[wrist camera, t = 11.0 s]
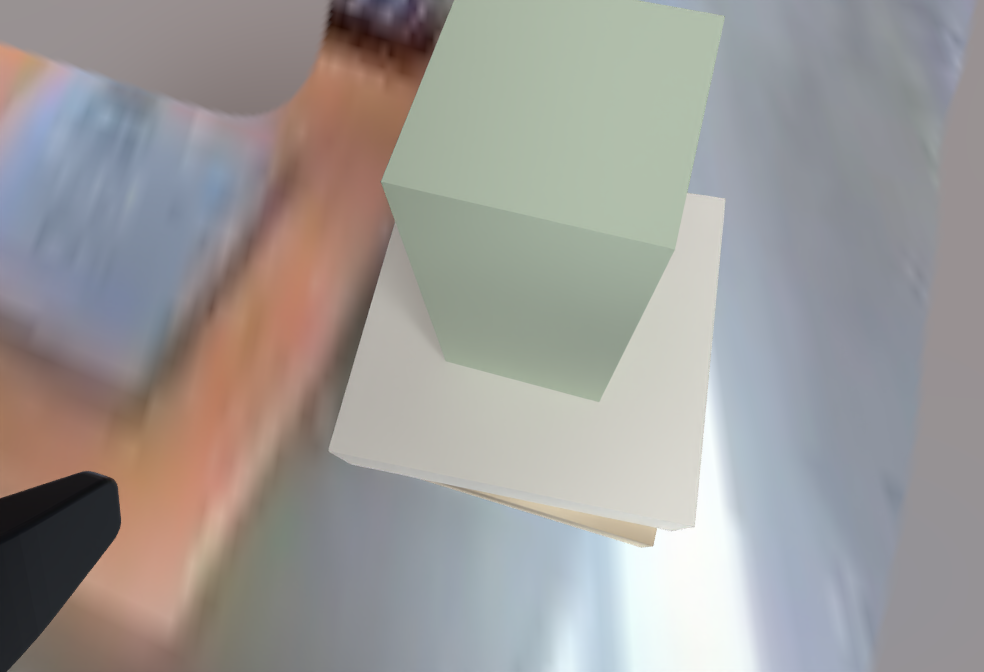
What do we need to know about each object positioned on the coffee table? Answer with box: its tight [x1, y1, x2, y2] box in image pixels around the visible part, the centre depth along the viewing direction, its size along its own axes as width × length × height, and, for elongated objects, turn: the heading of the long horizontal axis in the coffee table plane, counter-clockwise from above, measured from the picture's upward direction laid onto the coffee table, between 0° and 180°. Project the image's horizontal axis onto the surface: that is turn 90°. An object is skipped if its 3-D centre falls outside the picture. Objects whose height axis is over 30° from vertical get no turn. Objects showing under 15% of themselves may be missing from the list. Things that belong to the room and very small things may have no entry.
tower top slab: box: [328, 193, 725, 531], centre depth 20 cm, size 10×10×2 cm
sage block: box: [381, 0, 725, 402], centre depth 14 cm, size 4×4×9 cm
